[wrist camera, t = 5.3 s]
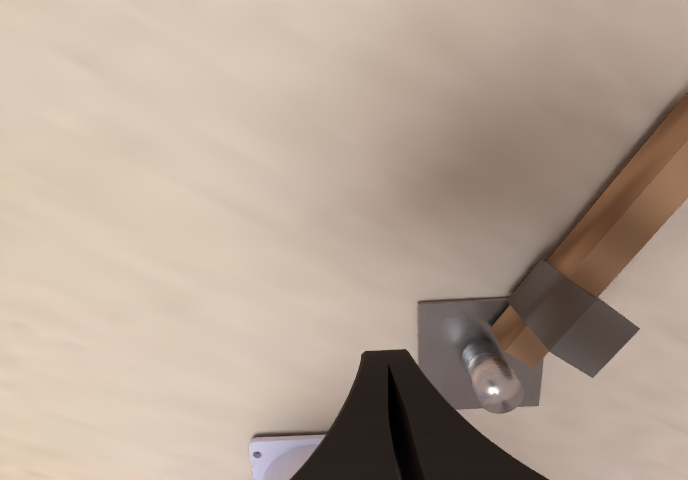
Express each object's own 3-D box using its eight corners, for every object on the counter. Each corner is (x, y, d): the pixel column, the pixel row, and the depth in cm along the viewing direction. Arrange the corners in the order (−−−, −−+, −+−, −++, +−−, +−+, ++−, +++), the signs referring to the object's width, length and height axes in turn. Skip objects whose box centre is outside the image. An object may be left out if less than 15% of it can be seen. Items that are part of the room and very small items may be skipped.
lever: (538, 357, 22) (586, 420, 18) (485, 325, 22) (521, 382, 17) (739, 134, 19) (864, 141, 14) (681, 89, 18) (793, 81, 14)
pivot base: (536, 402, 24) (566, 449, 21) (418, 407, 24) (429, 454, 21) (546, 295, 22) (581, 328, 19) (417, 302, 22) (429, 335, 19)
